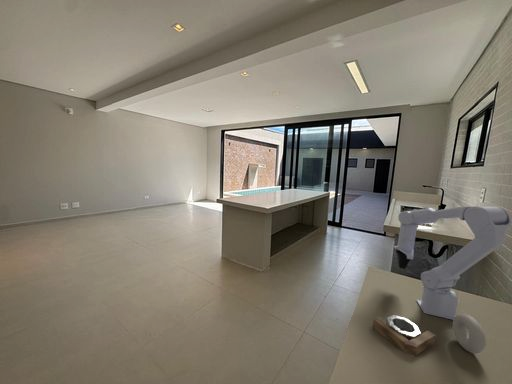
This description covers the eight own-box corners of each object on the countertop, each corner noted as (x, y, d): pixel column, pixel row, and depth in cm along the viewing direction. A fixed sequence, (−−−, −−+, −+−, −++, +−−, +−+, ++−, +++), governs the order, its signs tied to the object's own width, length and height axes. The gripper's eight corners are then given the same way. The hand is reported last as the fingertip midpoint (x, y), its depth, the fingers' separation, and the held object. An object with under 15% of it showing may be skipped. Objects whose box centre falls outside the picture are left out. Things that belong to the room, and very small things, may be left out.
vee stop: (431, 340, 67) (433, 331, 66) (445, 365, 58) (447, 355, 58) (371, 324, 72) (372, 316, 72) (376, 345, 64) (378, 336, 64)
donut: (485, 363, 59) (493, 331, 58) (471, 361, 60) (478, 329, 59) (459, 335, 69) (465, 307, 68) (447, 333, 70) (452, 305, 68)
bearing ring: (412, 329, 71) (414, 320, 70) (422, 349, 63) (423, 339, 63) (384, 322, 74) (385, 313, 73) (390, 340, 66) (391, 330, 65)
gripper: (391, 231, 100) (387, 259, 102) (400, 242, 86) (396, 273, 88) (409, 234, 97) (404, 262, 99) (421, 245, 84) (416, 277, 86)
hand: (402, 267), depth 94 cm, fingers closed
